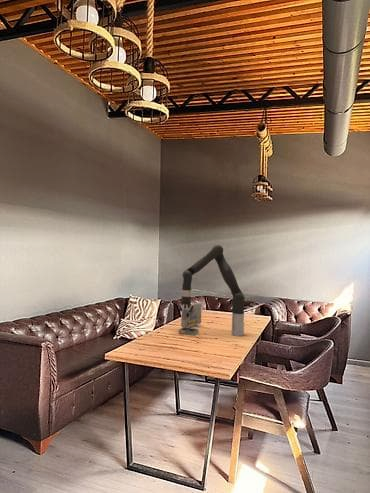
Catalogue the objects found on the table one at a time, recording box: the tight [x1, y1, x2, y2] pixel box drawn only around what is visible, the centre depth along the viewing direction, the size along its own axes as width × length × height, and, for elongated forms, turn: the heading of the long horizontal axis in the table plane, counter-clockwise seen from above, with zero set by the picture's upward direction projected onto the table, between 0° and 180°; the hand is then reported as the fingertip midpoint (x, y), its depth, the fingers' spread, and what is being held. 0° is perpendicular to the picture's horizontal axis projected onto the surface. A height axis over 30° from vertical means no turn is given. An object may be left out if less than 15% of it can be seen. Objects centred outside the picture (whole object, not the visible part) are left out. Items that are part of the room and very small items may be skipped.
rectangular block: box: [182, 310, 189, 320], centre depth 313 cm, size 3×6×7 cm, turn 157°
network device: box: [180, 302, 202, 329], centre depth 334 cm, size 26×9×20 cm, turn 146°
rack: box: [178, 327, 199, 336], centre depth 312 cm, size 13×10×3 cm
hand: (185, 317), depth 313 cm, fingers closed on rectangular block, 3 cm apart
